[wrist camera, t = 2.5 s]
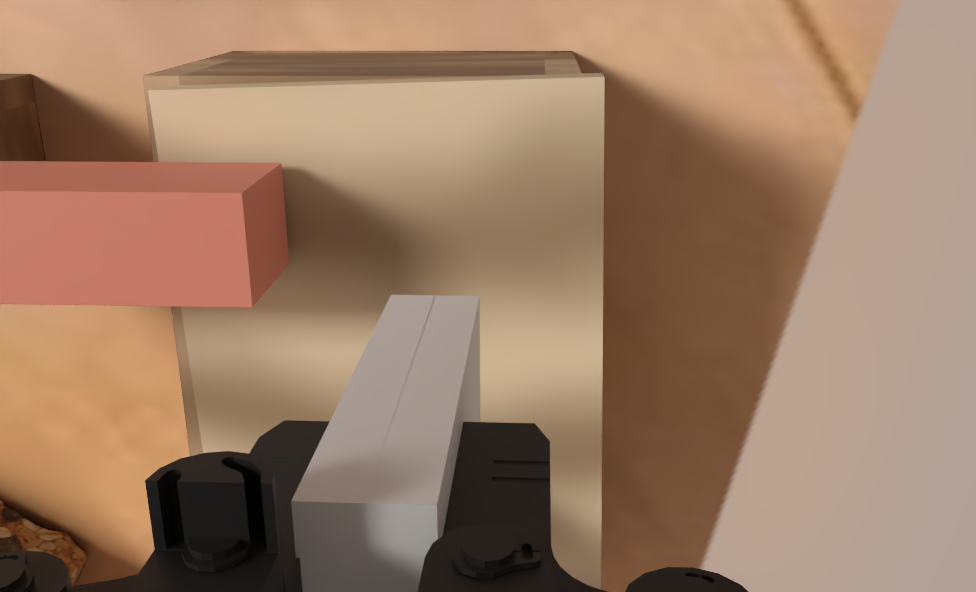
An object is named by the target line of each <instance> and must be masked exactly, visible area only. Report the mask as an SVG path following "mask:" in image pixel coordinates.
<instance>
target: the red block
mask: <svg viewBox="0 0 976 592" xmlns="http://www.w3.org/2000/svg"><path fill="white" fill-rule="evenodd" d="M288 265H289V253H288V240H287V227H286V214H285V202H284V189H283V176H282V164H281V163H230V162H66V161H0V304H39V305H110V306H181V307H253V306H254V305H255V304H256V303H257V301H258V300H259V299H260V298H261V297H262V296H263V294H264V293H265V292H266V291H267V290H268V288H269V287H270V286H271V285H272V284H273V283H274V281H275V280H276V279H277V278H278V277H279V275H280V274H281V273H282V272H283V271H284V270H285V268H286V267H287V266H288Z"/></svg>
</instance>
